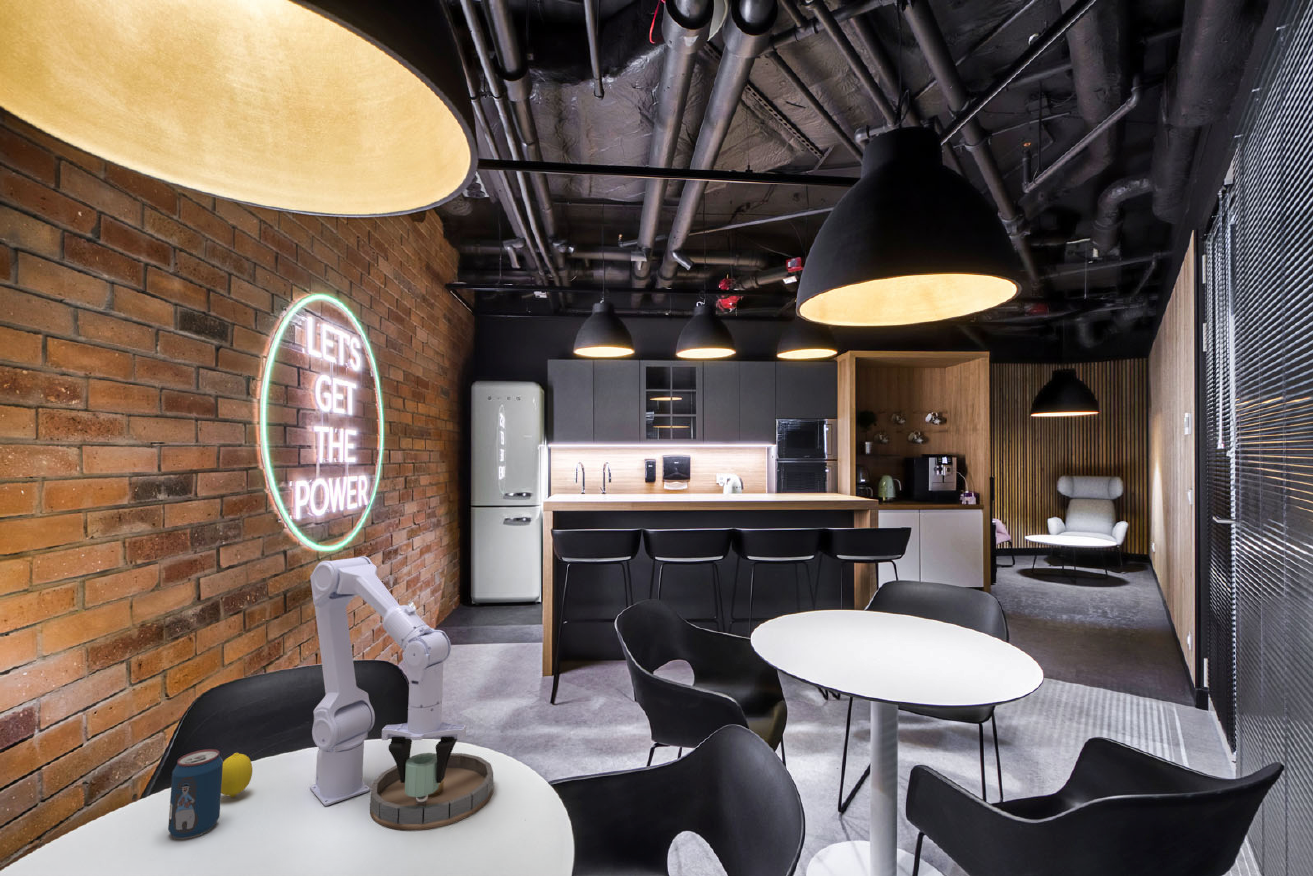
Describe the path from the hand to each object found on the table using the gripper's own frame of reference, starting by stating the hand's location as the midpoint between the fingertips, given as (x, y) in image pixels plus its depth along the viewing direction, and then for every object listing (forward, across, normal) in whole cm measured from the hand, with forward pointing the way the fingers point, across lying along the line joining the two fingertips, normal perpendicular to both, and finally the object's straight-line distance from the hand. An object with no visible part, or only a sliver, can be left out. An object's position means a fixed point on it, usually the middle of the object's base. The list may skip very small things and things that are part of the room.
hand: (422, 780), depth 107 cm
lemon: (+6, -38, +6) cm, 38 cm away
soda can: (+6, -37, -5) cm, 38 cm away
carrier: (+6, 0, +6) cm, 8 cm away
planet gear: (+1, 0, 0) cm, 1 cm away
